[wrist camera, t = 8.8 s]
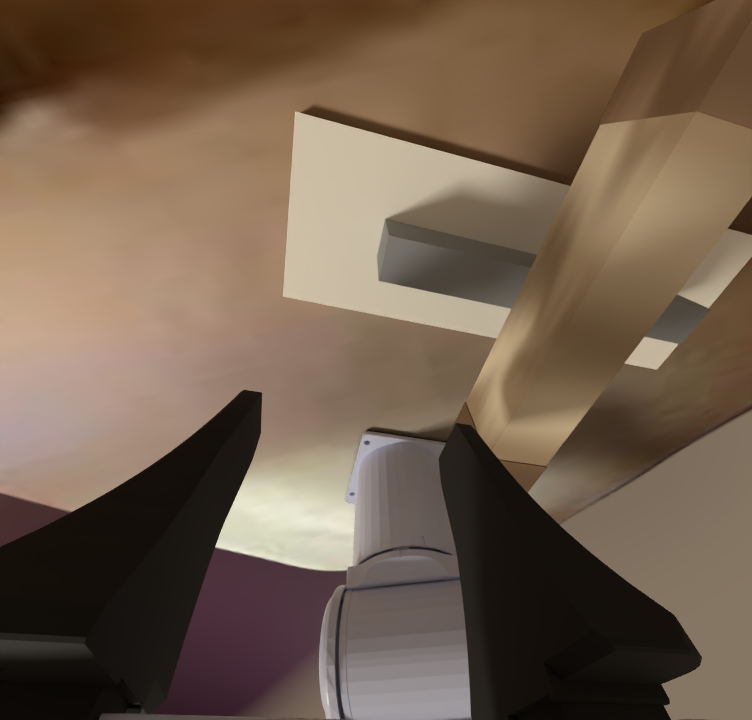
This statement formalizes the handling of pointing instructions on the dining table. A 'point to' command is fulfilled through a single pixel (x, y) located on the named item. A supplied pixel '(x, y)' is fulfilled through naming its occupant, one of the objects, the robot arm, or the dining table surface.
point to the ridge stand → (442, 236)
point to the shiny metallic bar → (624, 233)
